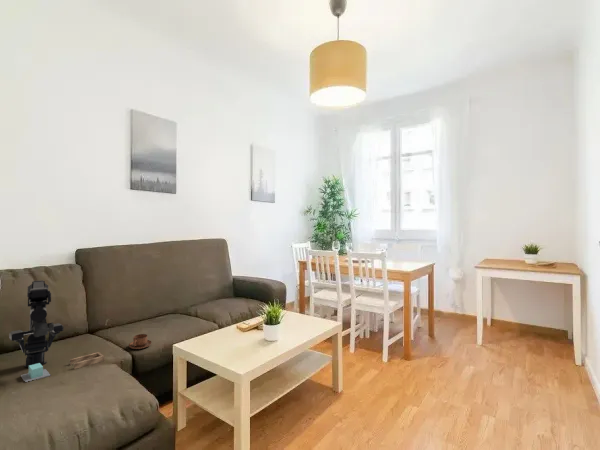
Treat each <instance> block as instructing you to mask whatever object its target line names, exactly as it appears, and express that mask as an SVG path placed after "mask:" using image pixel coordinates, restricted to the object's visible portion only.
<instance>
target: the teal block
mask: <svg viewBox="0 0 600 450" xmlns="http://www.w3.org/2000/svg"><path fill="white" fill-rule="evenodd" d="M43 369H44V366H43V365H41V364H40V363H38V364H34V365H30V366H29V367H28V372H27V374H29V376H30V377H31V378H36V377H39V376H43Z"/></svg>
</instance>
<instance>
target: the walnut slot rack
mask: <svg viewBox="0 0 600 450" xmlns="http://www.w3.org/2000/svg"><path fill="white" fill-rule="evenodd" d="M101 362H105V355H104V354H102V353H101V352H100V351H98V352H95V353H90V354H87V355H82V356H78V357H75V358H70V359H69V365H70V366H72V365H73V369H74V370H76V369H80V368H83V367H87V366H91V365H94V364H98V363H101Z"/></svg>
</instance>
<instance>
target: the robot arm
mask: <svg viewBox="0 0 600 450" xmlns="http://www.w3.org/2000/svg"><path fill="white" fill-rule="evenodd" d="M45 281H46V280H33V281H32V283H31V284H29V286H27V295H26V297H27V307H30V309H29V328H28V329H29V330H25V331H23V330H22V329H18V330H12V331H10V332H9V333H8V337H9V340H10V341H11V342H13V341H14V342H15V343H16V342H17V343H18V344H19V347H20V349H21V351H22V353H23V354H24V356H26V357H25V364H24V365H23V367H25V368H29V366H30V365H34V364H38V363H40V364H41V365H42V366H43V365H45V364H47V363H48V362H47V361H45V354H46V353H47V352H48V351H49V348H51V346H52V343H53V342H54V339H56V336H57V335H59V334H60V333H61V332H64V325H63V324H61V323H60V322H57V323H54V322H48V323H47V316H48V312H47V311H48V310H47V305H50V303H51V302H52V293H51V291H50V290H49V285H48V284H47V283H46V282H45ZM47 335H48V339H46V336H47ZM26 336H27V338H26V340H27V342H25V338H24V337H26Z"/></svg>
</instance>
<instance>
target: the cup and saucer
mask: <svg viewBox="0 0 600 450" xmlns="http://www.w3.org/2000/svg"><path fill="white" fill-rule="evenodd" d="M132 339H133V341H130V343H128V347H129V349H133V350H141V349H145V348H148V347H150V346H151V345H152V340H148V334H145V333H140V334H136V335H134V336H133V338H132Z"/></svg>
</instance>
